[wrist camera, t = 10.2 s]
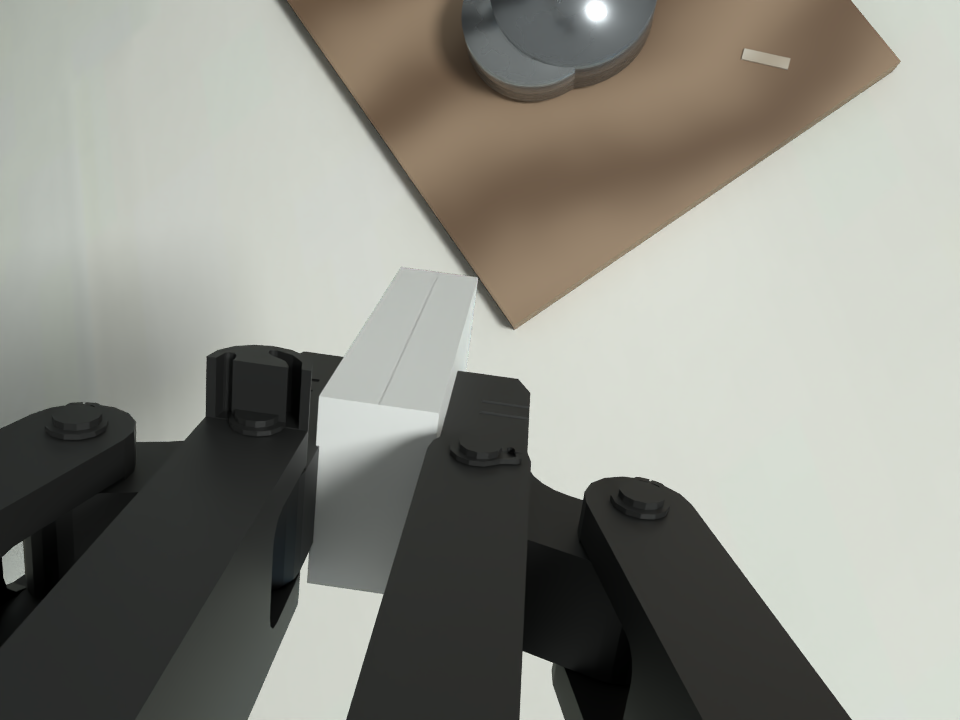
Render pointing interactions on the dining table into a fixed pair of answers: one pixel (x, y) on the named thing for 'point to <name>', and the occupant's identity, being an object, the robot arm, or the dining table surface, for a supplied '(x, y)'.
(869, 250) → the dining table surface
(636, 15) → the crank handle
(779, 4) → the dial plate
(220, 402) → the robot arm
